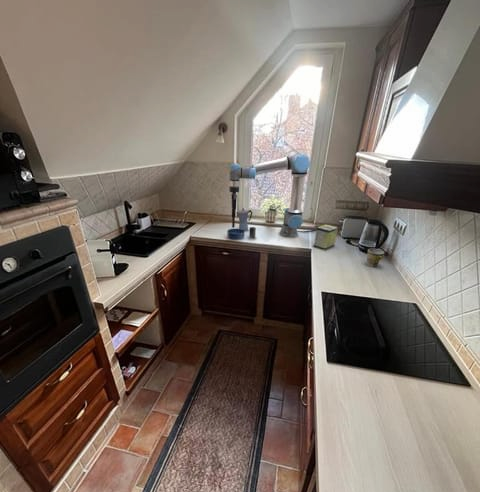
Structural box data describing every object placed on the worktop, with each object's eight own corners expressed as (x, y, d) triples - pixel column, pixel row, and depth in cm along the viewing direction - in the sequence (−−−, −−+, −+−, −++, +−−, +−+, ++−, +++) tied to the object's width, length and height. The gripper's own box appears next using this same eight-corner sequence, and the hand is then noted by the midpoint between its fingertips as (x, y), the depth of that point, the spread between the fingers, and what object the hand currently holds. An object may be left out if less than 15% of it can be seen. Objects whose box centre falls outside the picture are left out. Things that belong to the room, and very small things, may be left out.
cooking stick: (234, 227, 212) (234, 205, 203) (234, 227, 210) (235, 205, 201) (232, 227, 212) (232, 205, 202) (232, 227, 210) (232, 205, 201)
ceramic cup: (361, 261, 180) (365, 248, 175) (374, 261, 181) (378, 248, 176) (370, 269, 169) (375, 256, 164) (385, 269, 170) (389, 255, 165)
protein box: (334, 245, 206) (338, 226, 199) (324, 250, 197) (329, 230, 189) (322, 242, 213) (326, 224, 205) (313, 246, 203) (316, 227, 195)
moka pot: (234, 229, 235) (234, 207, 225) (248, 228, 241) (249, 206, 231) (238, 232, 228) (238, 210, 218) (253, 231, 234) (254, 208, 224)
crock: (254, 237, 219) (255, 226, 214) (255, 239, 214) (256, 228, 210) (248, 237, 218) (249, 227, 214) (249, 239, 214) (250, 228, 209)
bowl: (242, 235, 223) (243, 228, 220) (245, 240, 210) (245, 233, 207) (226, 235, 221) (226, 228, 218) (228, 241, 209) (228, 233, 206)
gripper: (228, 184, 200) (228, 214, 212) (230, 188, 188) (229, 219, 200) (237, 185, 201) (237, 214, 213) (240, 188, 189) (239, 219, 201)
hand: (233, 217), depth 206 cm, fingers closed on cooking stick, 2 cm apart
